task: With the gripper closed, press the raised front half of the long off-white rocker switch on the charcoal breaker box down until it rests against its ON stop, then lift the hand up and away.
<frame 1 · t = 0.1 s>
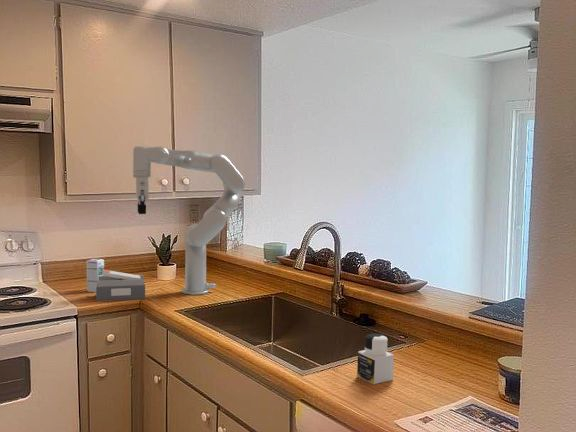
hand: (141, 213, 242), 37 cm above the worktop, tool pointing down, fingers open, 9 cm apart
rocker switch: (121, 275, 238), point 10 cm above the worktop, hinge at -12.0°
medicine bottle: (374, 378, 150), on the worktop
syrup box: (95, 291, 250), on the worktop
breaker box: (121, 296, 239), on the worktop
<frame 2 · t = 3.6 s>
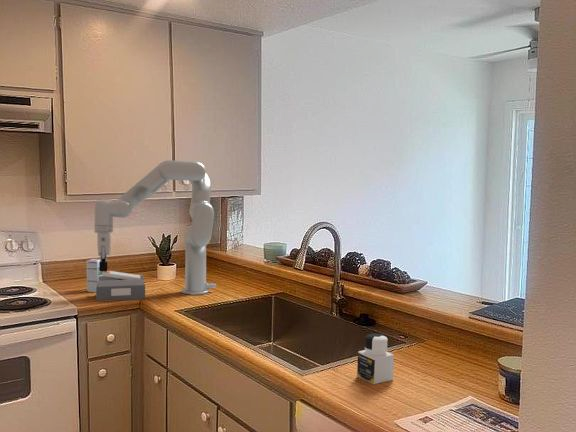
hand: (103, 270, 236), 12 cm above the worktop, tool pointing down, fingers closed
rocker switch: (121, 275, 238), point 10 cm above the worktop, hinge at -11.0°, touching gripper
everything else where it was.
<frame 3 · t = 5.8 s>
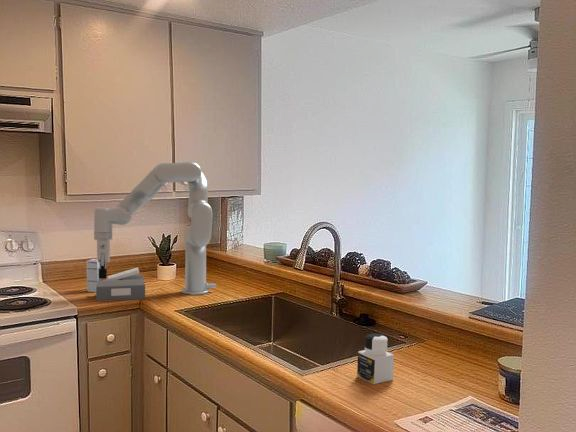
hand: (102, 277, 236), 9 cm above the worktop, tool pointing down, fingers closed
rocker switch: (120, 275, 238), point 10 cm above the worktop, hinge at 15.7°, touching gripper
everything else where it was.
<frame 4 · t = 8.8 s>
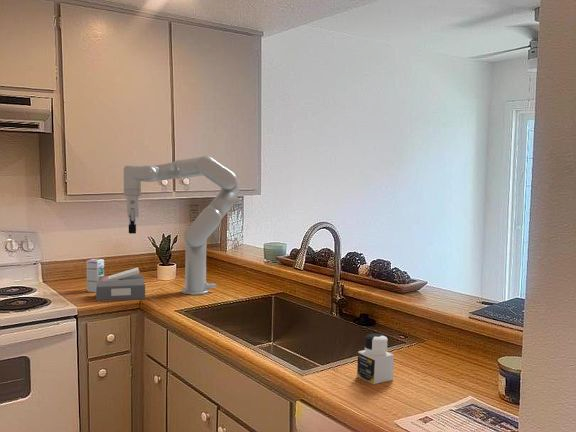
hand: (132, 233, 247), 27 cm above the worktop, tool pointing down, fingers closed
rocker switch: (120, 275, 238), point 10 cm above the worktop, hinge at 15.7°
everything else where it was.
at the end: rocker switch at +16° (first picture: -12°); syrup box moved 0.2 cm from its start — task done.
